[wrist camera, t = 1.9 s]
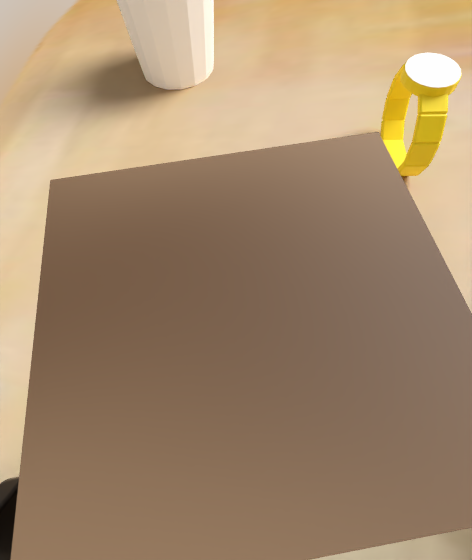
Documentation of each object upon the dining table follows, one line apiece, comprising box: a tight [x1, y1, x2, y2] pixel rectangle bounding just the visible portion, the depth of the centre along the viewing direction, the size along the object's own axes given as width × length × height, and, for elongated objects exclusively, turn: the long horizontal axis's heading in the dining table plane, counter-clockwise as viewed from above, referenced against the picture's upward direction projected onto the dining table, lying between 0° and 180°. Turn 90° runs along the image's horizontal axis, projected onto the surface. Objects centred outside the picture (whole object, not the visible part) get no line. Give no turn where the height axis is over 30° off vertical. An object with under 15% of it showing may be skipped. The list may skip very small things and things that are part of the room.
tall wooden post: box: [11, 132, 472, 560], centre depth 10 cm, size 4×4×14 cm
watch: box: [381, 53, 462, 176], centre depth 21 cm, size 6×3×6 cm, turn 178°
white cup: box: [117, 0, 214, 90], centre depth 26 cm, size 7×7×7 cm
